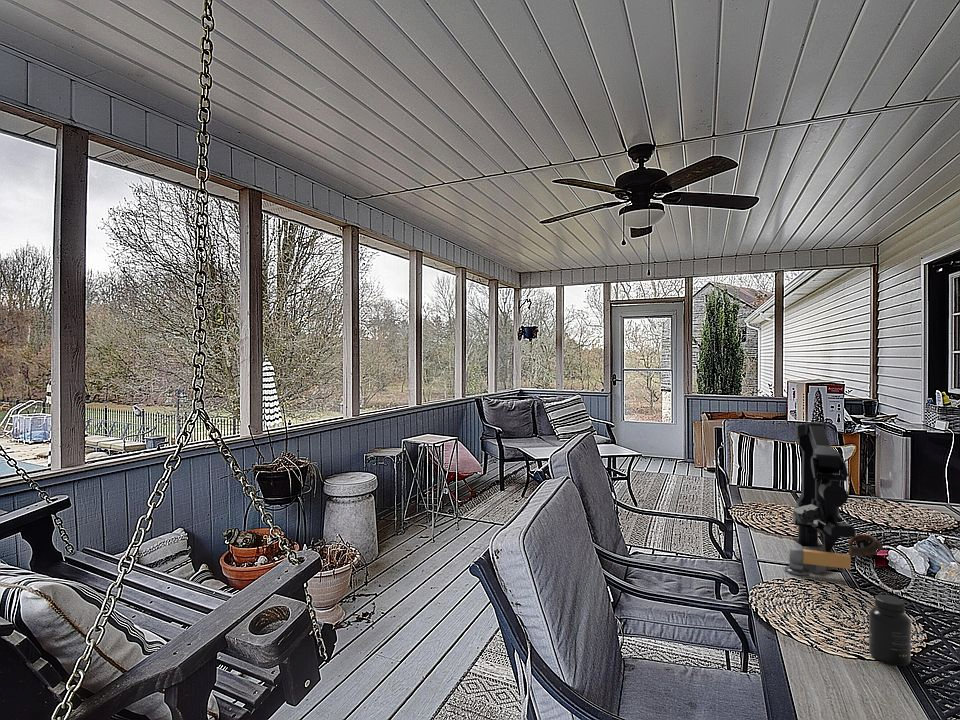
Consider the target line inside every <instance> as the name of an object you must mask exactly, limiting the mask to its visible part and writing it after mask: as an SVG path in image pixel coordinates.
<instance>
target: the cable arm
mask: <svg viewBox="0 0 960 720" xmlns="http://www.w3.org/2000/svg"><path fill="white" fill-rule="evenodd" d="M788 550H789V552H788V553H789V558H788V559H789V561H790V562H792V563H796V564H803V563H804V564H812V565H820V566H829V567H837V568H839V569H847V570H851V568H852V566H851V564H852V562H851V561H852V558H851V556H850V555H849V553H848V554H847V553H841V552H840V553H839V552H831V551H830V552H825V551H821V550H814V549H803V548H800V547H789V549H788ZM837 568H836V569H837Z"/></svg>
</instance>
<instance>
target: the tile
mask: <svg viewBox="0 0 960 720" xmlns="http://www.w3.org/2000/svg"><path fill="white" fill-rule="evenodd" d="M804 568H805V569H807V570H808V571H809V573H813V574H820V573H824V572H826V571H828V570H827V566H820V565H812V564H804Z"/></svg>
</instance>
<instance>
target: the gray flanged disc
mask: <svg viewBox="0 0 960 720" xmlns="http://www.w3.org/2000/svg"><path fill="white" fill-rule="evenodd" d="M788 564H789V565H785V566H784V571H785V572H786V573H788V574H790V575H793V576H798V577H799V576H801V577H806V576H808V575H809V574H810V571H808V570H807V569H805V568H804V563H803V564H796V563H792V562H790V561H789V563H788Z"/></svg>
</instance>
